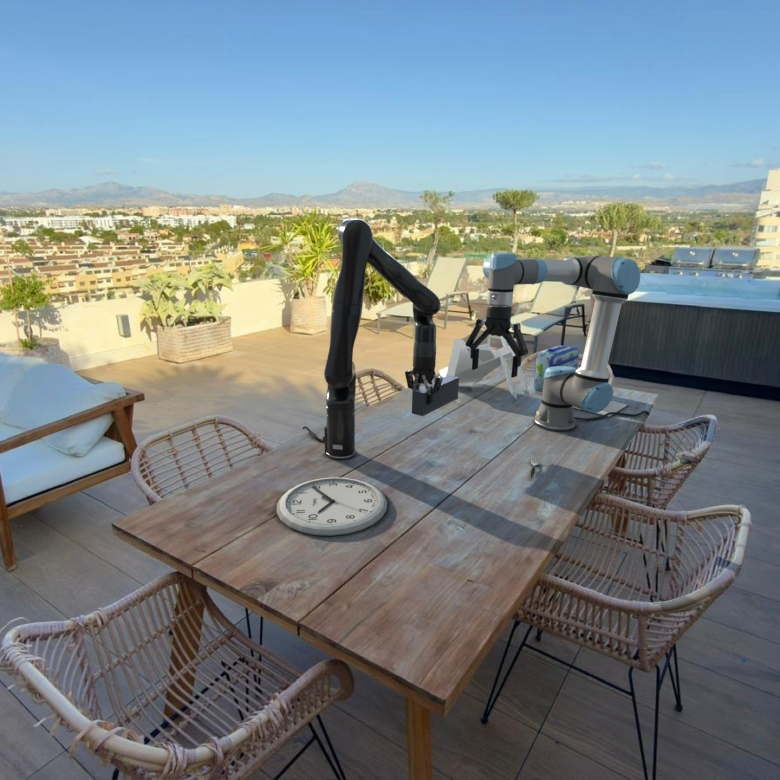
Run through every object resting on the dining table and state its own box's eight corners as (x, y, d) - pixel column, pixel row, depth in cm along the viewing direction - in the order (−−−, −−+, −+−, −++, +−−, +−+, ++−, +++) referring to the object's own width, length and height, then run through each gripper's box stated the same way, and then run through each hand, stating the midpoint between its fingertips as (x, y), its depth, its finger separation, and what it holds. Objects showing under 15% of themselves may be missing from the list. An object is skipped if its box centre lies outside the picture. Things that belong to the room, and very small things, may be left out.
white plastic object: (461, 429, 252) (437, 405, 227) (444, 352, 274) (420, 323, 250) (535, 404, 240) (518, 377, 215) (510, 326, 262) (492, 293, 237)
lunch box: (550, 398, 235) (555, 353, 229) (529, 393, 243) (534, 349, 236) (577, 387, 253) (583, 345, 247) (557, 382, 260) (562, 341, 254)
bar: (447, 396, 196) (448, 375, 193) (457, 398, 193) (459, 377, 191) (411, 413, 177) (412, 390, 174) (422, 416, 174) (423, 393, 172)
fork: (526, 479, 159) (527, 473, 159) (531, 458, 173) (532, 453, 173) (535, 480, 158) (536, 474, 158) (539, 460, 173) (540, 454, 172)
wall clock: (392, 527, 129) (268, 531, 127) (391, 533, 130) (269, 537, 127) (383, 473, 158) (282, 475, 155) (383, 478, 158) (282, 480, 156)
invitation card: (608, 416, 214) (573, 407, 224) (608, 416, 214) (573, 408, 224) (628, 404, 229) (594, 396, 238) (628, 405, 229) (594, 397, 238)
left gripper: (400, 352, 173) (398, 401, 178) (437, 359, 165) (434, 410, 170) (412, 348, 179) (411, 396, 184) (449, 354, 171) (446, 404, 176)
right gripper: (457, 302, 163) (453, 368, 169) (533, 310, 149) (526, 382, 155) (469, 300, 169) (465, 363, 175) (543, 308, 155) (536, 377, 161)
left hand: (422, 402), depth 177 cm, fingers closed on bar, 4 cm apart
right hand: (494, 372), depth 165 cm, fingers open, 13 cm apart
